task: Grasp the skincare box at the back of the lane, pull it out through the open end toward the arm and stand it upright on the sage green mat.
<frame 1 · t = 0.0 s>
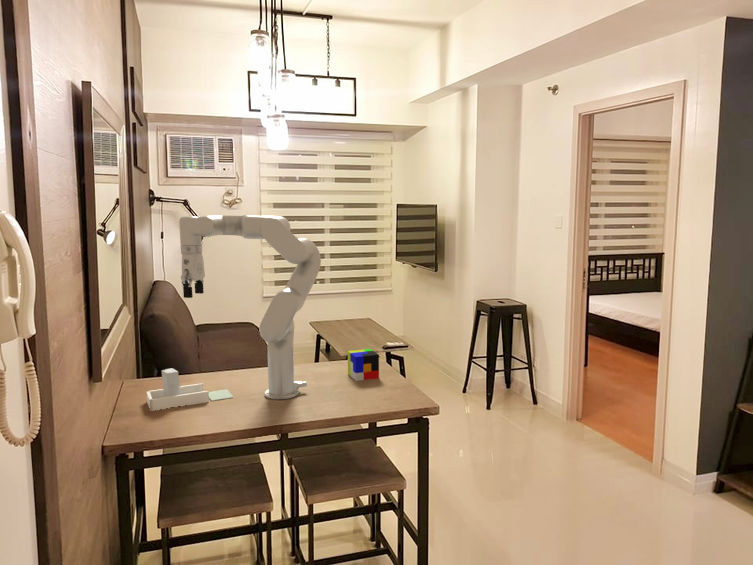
hand: (193, 295, 221), 37 cm above the table, tool pointing down, fingers open, 9 cm apart
puzzle toy: (363, 376, 244), on the table
mat: (219, 395, 222), on the table
lane: (177, 401, 215), on the table
skincare box: (172, 403, 214), resting in lane
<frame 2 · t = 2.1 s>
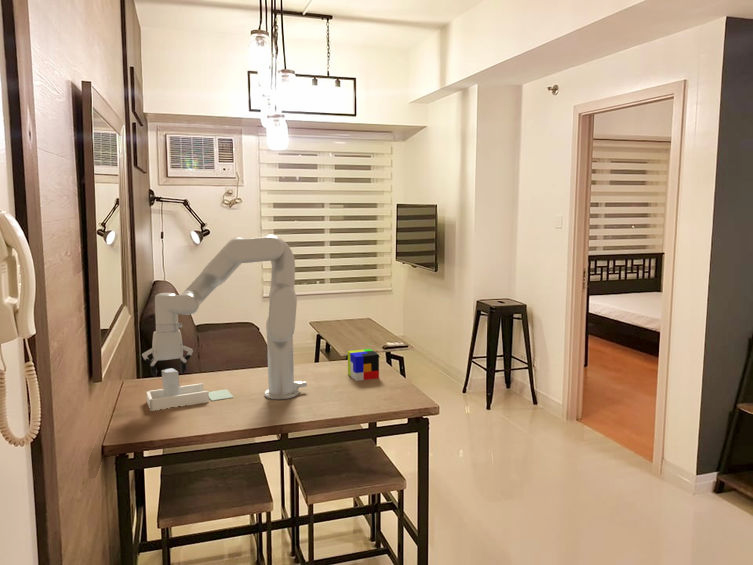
hand: (168, 374, 212), 11 cm above the table, tool pointing down, fingers open, 9 cm apart
nothing on the table moved.
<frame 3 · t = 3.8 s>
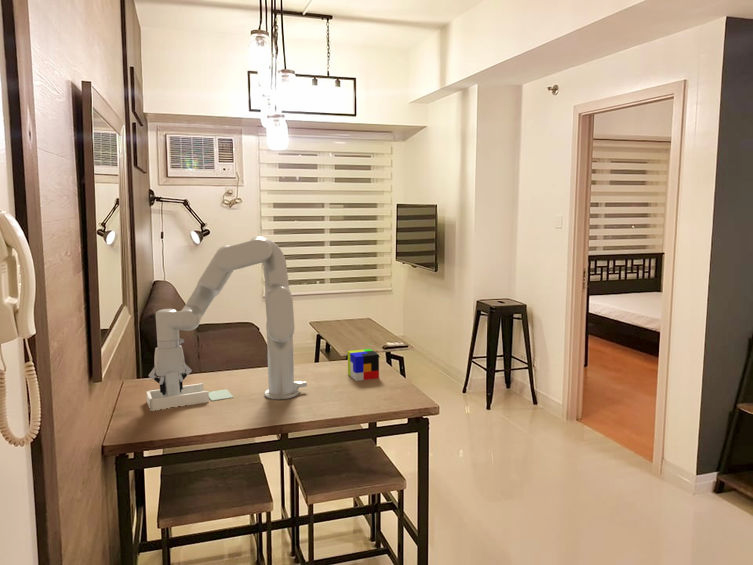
hand: (171, 392, 213), 4 cm above the table, tool pointing down, fingers closed on skincare box, 4 cm apart
skincare box: (172, 403, 214), resting in lane, touching gripper
everything else where it was.
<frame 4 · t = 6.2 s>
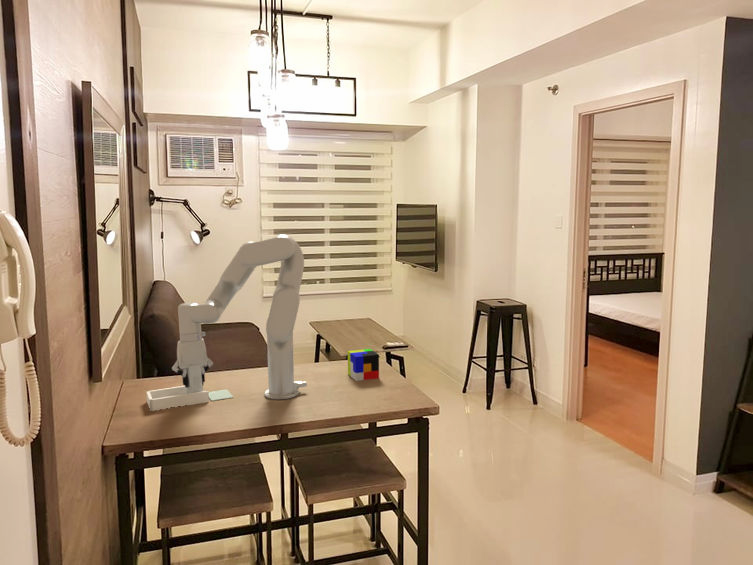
hand: (194, 384, 217), 6 cm above the table, tool pointing down, fingers closed on skincare box, 4 cm apart
skincare box: (194, 395, 217), point 1 cm above the table, touching gripper
everything else where it was.
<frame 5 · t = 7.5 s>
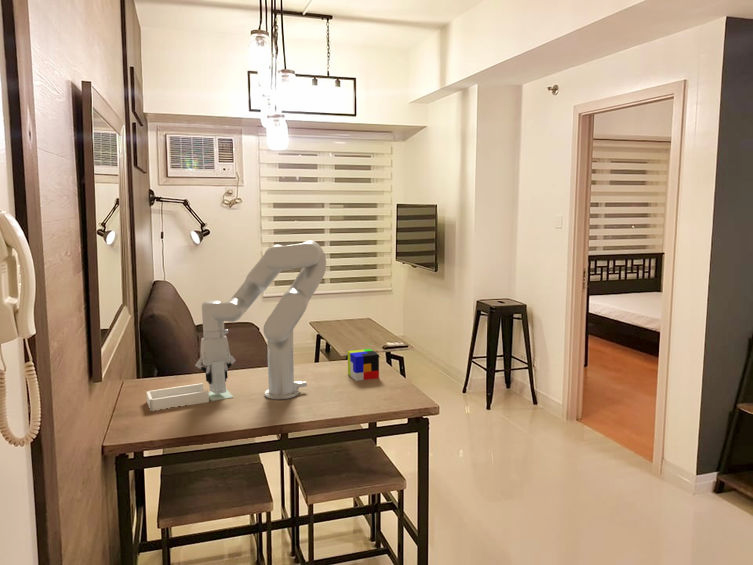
hand: (217, 381, 220), 6 cm above the table, tool pointing down, fingers closed on skincare box, 4 cm apart
skincare box: (217, 392, 221), point 1 cm above the table, touching gripper
everything else where it was.
when the fingers open (5 cm above the table, at t = 8.6 s): skincare box stays where it is, resting on mat.
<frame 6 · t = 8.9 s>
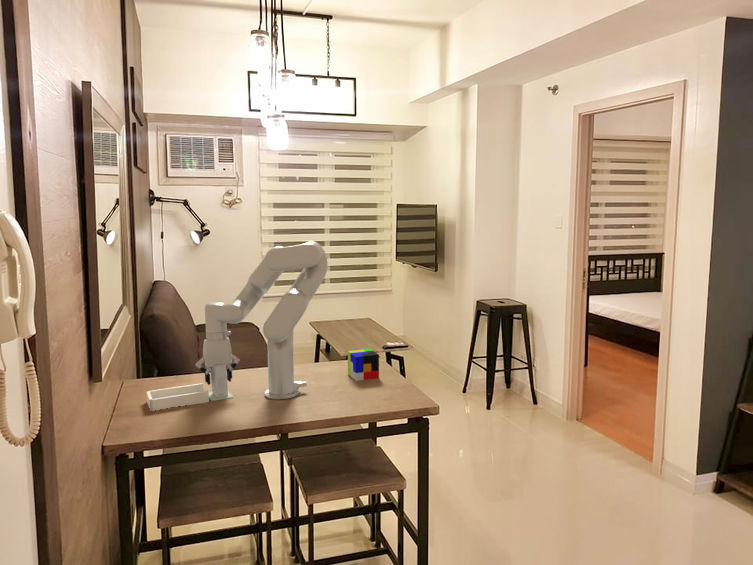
hand: (218, 381, 221), 5 cm above the table, tool pointing down, fingers open, 7 cm apart
skincare box: (219, 395, 222), resting on mat
everything else where it was.
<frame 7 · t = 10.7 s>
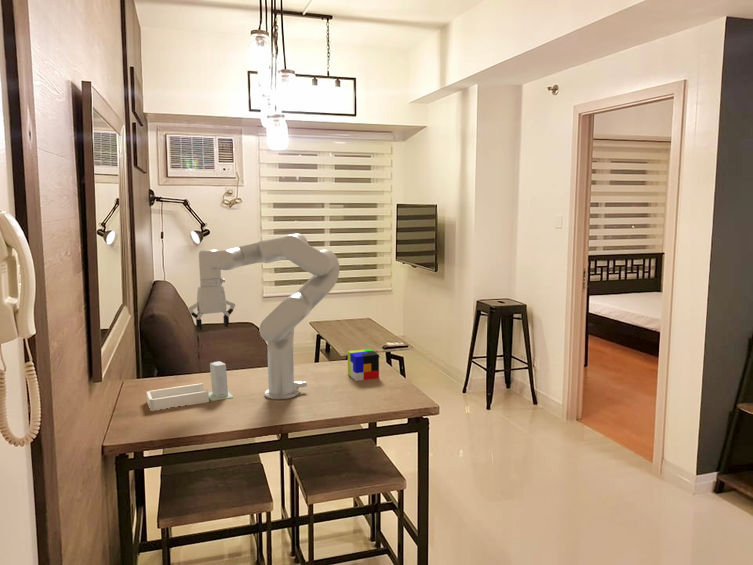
hand: (213, 327, 222), 25 cm above the table, tool pointing down, fingers open, 9 cm apart
nothing on the table moved.
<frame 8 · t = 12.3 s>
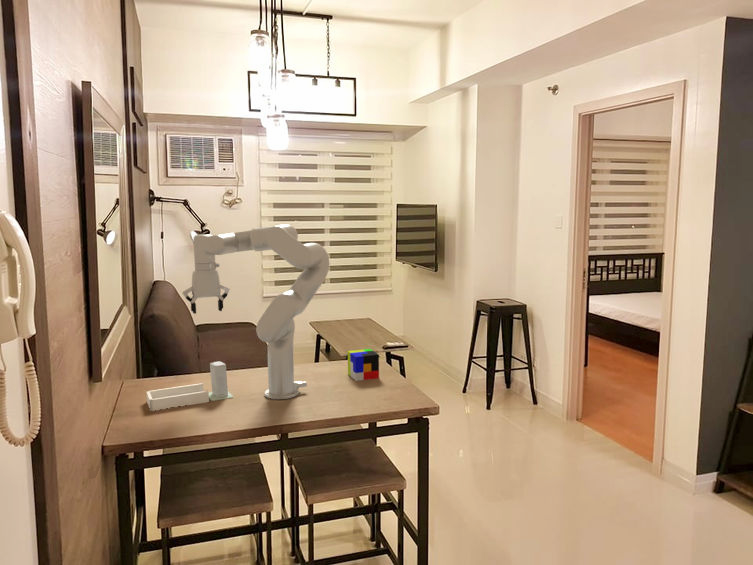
hand: (207, 311, 226), 30 cm above the table, tool pointing down, fingers open, 9 cm apart
nothing on the table moved.
at the end: skincare box inside the target area (0.1 cm from its centre), resting on mat; skincare box tilted 0°; the gripper is holding nothing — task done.
